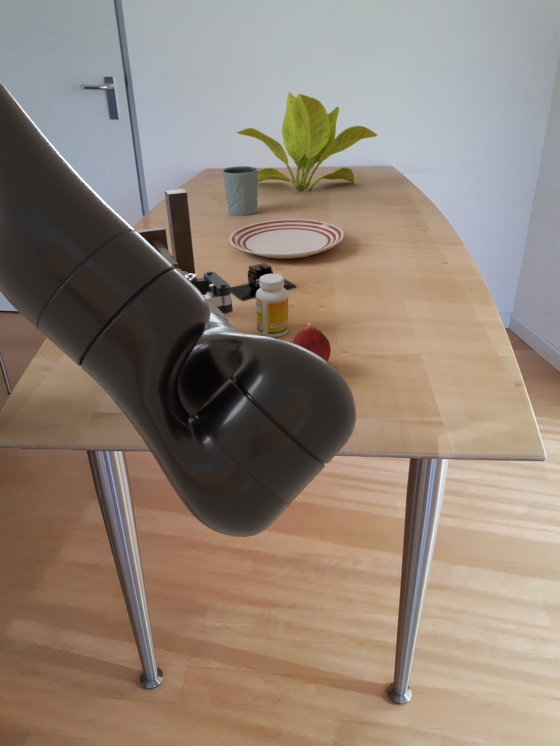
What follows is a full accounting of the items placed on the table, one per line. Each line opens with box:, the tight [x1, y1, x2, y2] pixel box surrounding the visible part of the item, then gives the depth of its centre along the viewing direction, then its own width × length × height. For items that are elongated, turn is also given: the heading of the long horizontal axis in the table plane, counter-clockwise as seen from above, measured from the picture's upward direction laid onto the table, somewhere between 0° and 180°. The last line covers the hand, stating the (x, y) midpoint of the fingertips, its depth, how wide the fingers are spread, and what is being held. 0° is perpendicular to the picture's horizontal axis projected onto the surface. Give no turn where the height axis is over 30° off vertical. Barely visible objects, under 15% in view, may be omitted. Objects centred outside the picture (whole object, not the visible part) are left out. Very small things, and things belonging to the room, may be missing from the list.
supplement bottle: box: [255, 273, 289, 338], centre depth 91 cm, size 5×5×10 cm
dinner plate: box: [229, 218, 345, 260], centre depth 131 cm, size 28×27×3 cm
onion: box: [291, 322, 332, 363], centre depth 79 cm, size 6×6×8 cm
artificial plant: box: [236, 91, 378, 192], centre depth 181 cm, size 42×43×30 cm
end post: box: [164, 188, 196, 274], centre depth 93 cm, size 5×5×22 cm
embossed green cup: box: [221, 165, 259, 217], centre depth 158 cm, size 10×10×12 cm
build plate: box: [230, 262, 297, 301], centre depth 109 cm, size 12×7×5 cm, turn 121°
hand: (135, 286), depth 56 cm, fingers open, 8 cm apart
